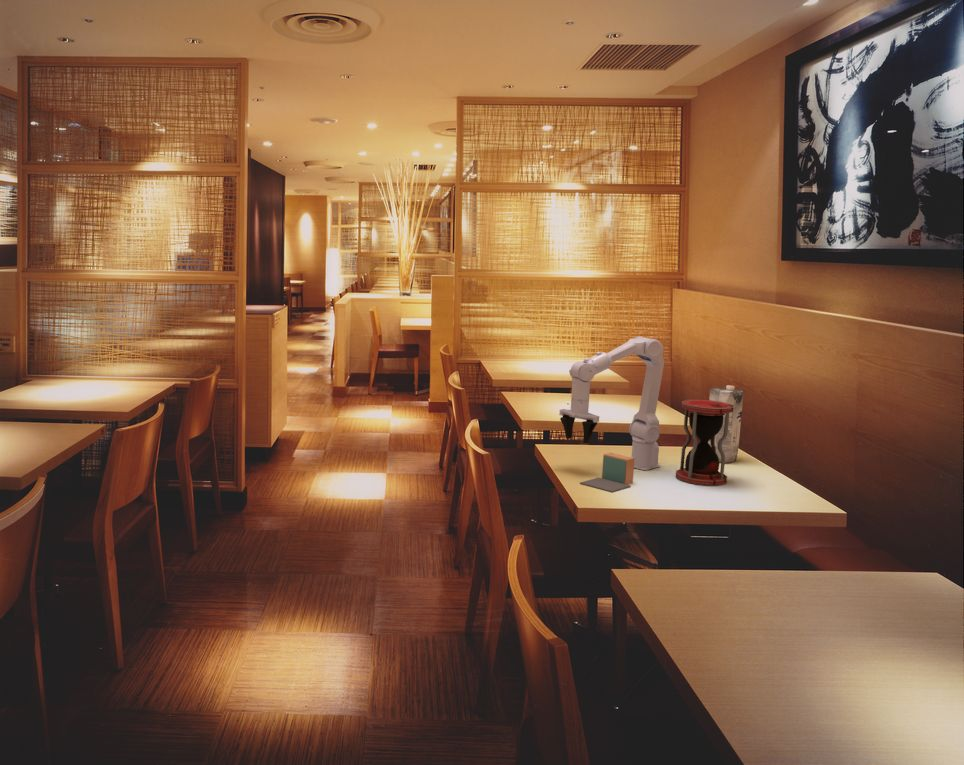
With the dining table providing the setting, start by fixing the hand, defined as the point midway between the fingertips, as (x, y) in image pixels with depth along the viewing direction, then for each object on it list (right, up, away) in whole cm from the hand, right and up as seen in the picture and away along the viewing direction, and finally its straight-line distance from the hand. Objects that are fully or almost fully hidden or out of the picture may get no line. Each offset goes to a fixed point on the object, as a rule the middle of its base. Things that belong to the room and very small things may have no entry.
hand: (577, 440), depth 274 cm
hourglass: (+40, -13, 0) cm, 42 cm away
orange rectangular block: (+12, -12, -7) cm, 18 cm away
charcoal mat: (+7, -13, -14) cm, 20 cm away
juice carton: (+54, -9, +28) cm, 62 cm away
